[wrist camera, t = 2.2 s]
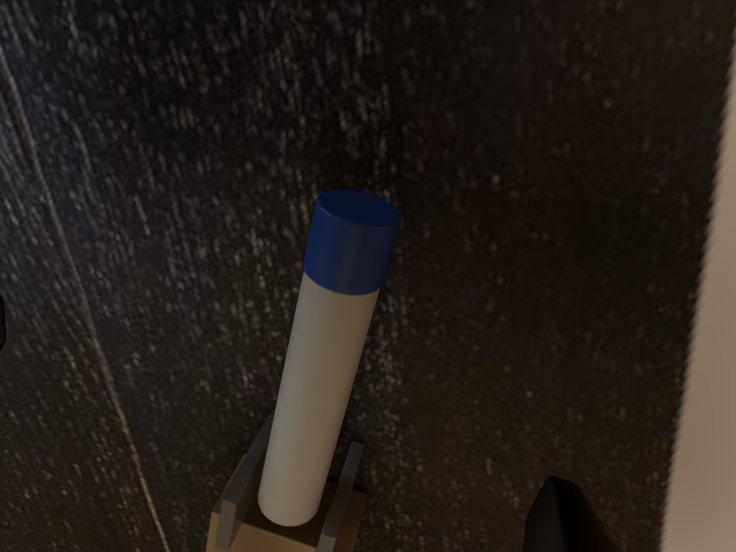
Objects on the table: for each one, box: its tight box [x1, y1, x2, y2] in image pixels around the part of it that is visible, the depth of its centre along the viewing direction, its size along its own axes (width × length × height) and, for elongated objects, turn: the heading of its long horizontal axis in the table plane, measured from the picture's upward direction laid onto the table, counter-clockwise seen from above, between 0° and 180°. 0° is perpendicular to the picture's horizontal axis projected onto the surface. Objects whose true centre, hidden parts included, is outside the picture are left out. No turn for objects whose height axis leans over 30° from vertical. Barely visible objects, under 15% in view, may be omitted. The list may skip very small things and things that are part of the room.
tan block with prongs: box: [206, 414, 367, 552], centre depth 22 cm, size 5×7×4 cm
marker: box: [258, 189, 401, 526], centre depth 17 cm, size 2×10×2 cm, turn 167°
